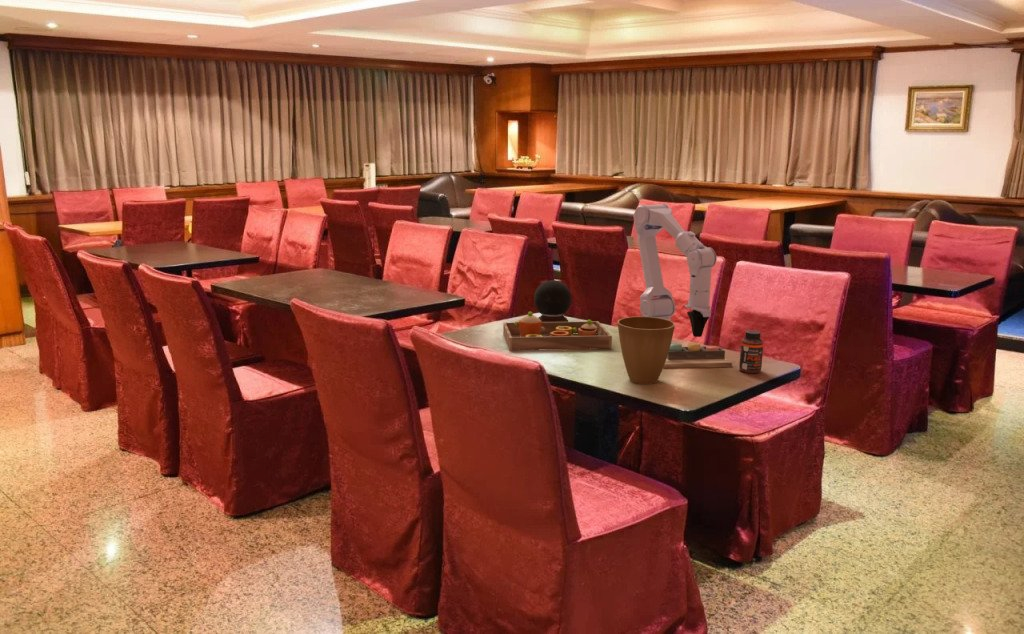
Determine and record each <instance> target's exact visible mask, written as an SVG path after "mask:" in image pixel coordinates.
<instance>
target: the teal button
mask: <svg viewBox="0 0 1024 634" xmlns="http://www.w3.org/2000/svg"><path fill="white" fill-rule="evenodd" d="M682 347H683V344H682V343H677V342H673V343H672V342H671V345H670V349H669V351H682Z"/></svg>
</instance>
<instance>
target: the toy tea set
mask: <svg viewBox="0 0 1024 634" xmlns="http://www.w3.org/2000/svg"><path fill="white" fill-rule="evenodd" d="M533 313H534V312H532V311H528V312H527V315H525V316H523V317H521V319H519V320H518V321H514V322H515V323H514V325H515V326H518V325H519V329H520V335H519V337H544V335H543V334H540V332H541V331H544V330H545V329H544V327H541V325H542V321H541V320H540V319H539V318H538V317H539V316H536V315H533ZM592 321H593V320H592V319H587V323H586V324H584V325H582V327H581V328H579V329H578V331H579V334H578V336H597V334H596V331H597V326H596V325H594V324H592ZM572 331H573V332H576V331H577V329H576V328H575V327H574V328H572V327H568V326H558V327H556V331H553V332H551V333H550V334H549V336H574V334H571V333H572Z"/></svg>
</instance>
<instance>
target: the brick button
mask: <svg viewBox="0 0 1024 634" xmlns="http://www.w3.org/2000/svg"><path fill="white" fill-rule="evenodd" d="M717 346H718V345H707V346H706V350H707V351H716V350H719V347H720V346H719V347H717Z"/></svg>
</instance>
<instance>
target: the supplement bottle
mask: <svg viewBox="0 0 1024 634" xmlns="http://www.w3.org/2000/svg"><path fill="white" fill-rule="evenodd" d="M761 334H762V333H761V331H760V330H759V331H758V330H751V329H750V330H746V331H745V337H744V338H742V339H741V343H740V354H739V371H741V372H742V373H746V374H759V373H761V371H762V366H763V364H762V363H763V352H764V341H763V340H762V339H761Z"/></svg>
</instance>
